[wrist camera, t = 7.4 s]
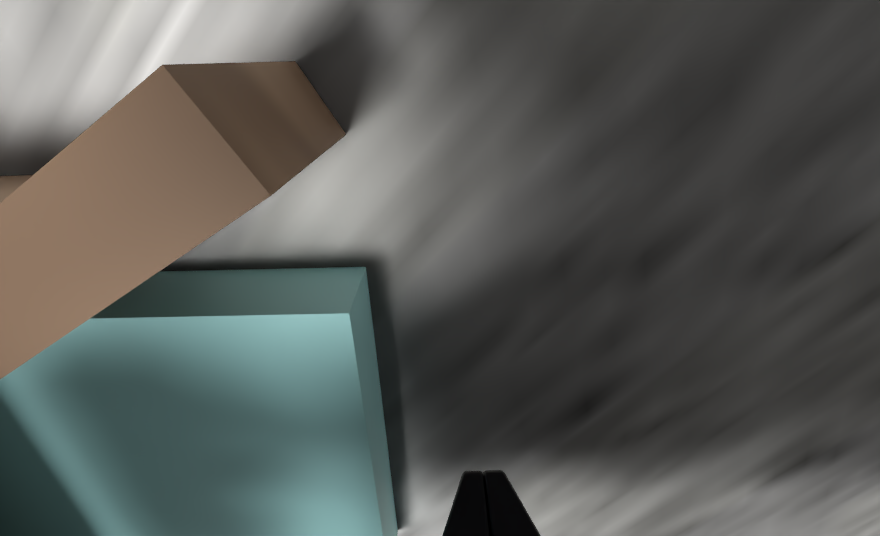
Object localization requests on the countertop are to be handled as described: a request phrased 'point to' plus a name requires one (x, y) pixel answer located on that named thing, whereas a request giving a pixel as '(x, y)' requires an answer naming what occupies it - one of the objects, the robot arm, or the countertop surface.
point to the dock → (148, 190)
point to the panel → (204, 413)
